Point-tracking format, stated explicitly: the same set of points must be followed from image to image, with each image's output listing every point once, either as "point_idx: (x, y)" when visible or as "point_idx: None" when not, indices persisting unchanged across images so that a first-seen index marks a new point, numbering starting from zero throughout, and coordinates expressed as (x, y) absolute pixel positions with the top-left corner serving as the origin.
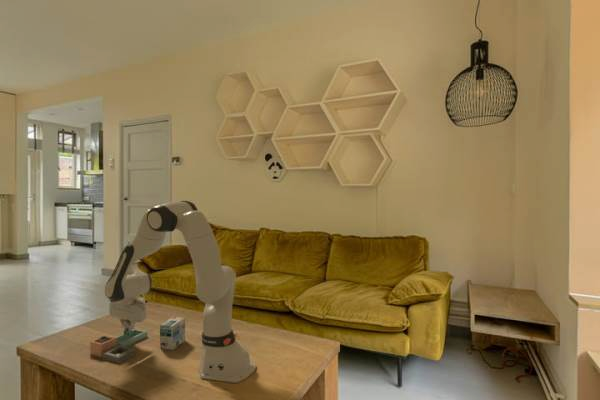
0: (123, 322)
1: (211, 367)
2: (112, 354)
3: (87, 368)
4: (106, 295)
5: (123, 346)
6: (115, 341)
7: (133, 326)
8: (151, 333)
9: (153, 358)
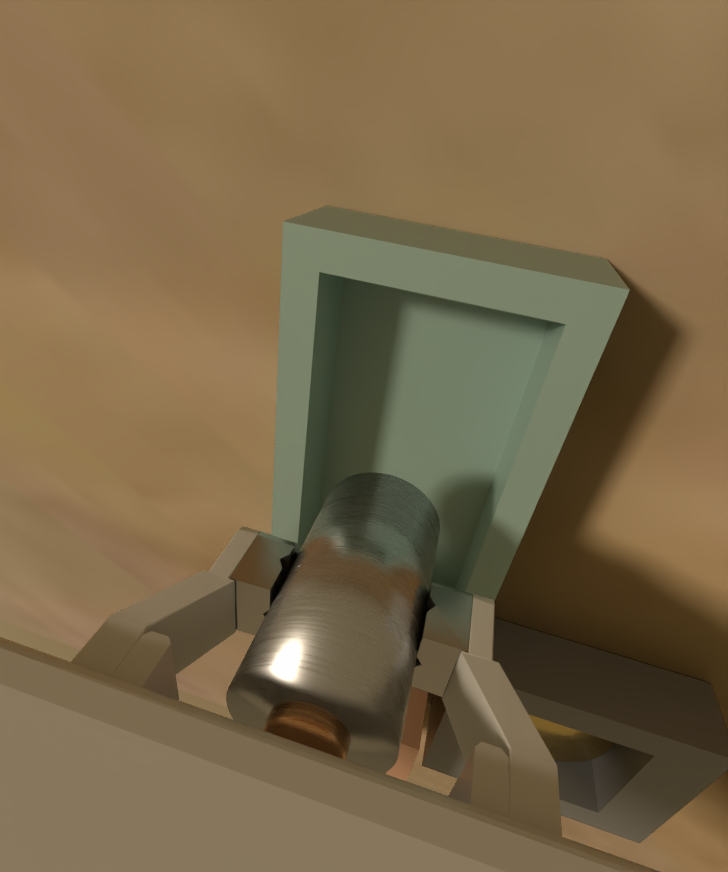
0: (215, 626)
1: None
2: None
3: (425, 768)
4: None
5: (540, 701)
6: (423, 715)
7: (487, 650)
8: (575, 14)
9: None
